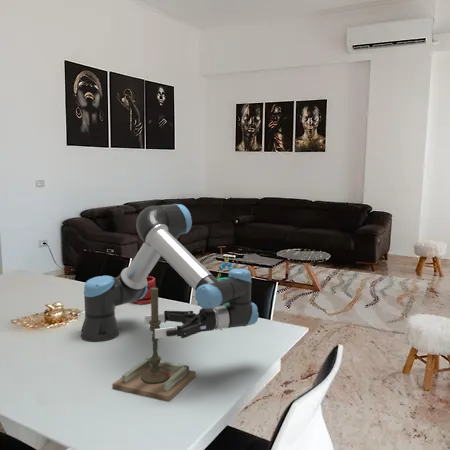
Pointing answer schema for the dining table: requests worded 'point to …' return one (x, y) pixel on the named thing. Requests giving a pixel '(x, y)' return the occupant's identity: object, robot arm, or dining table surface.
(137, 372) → the railed board
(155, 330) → the robot arm
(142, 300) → the plant pot
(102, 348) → the dining table surface
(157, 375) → the candlestick holder
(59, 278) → the dining table surface
